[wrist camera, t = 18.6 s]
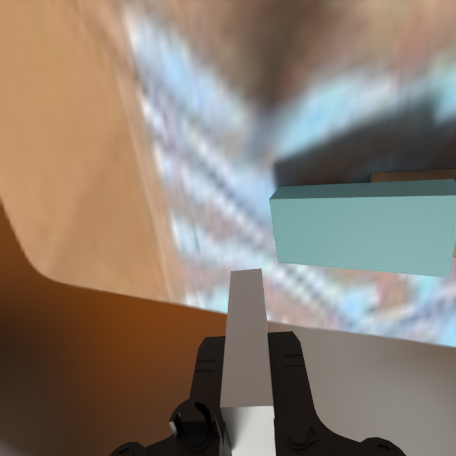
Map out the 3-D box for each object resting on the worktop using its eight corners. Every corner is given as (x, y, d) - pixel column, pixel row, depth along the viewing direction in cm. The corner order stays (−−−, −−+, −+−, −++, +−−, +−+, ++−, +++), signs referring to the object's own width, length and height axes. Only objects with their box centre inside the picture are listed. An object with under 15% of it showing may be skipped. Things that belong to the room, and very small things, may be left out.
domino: (269, 199, 18) (463, 195, 14) (279, 186, 20) (453, 179, 15) (278, 262, 20) (449, 277, 16) (286, 245, 22) (441, 254, 18)
